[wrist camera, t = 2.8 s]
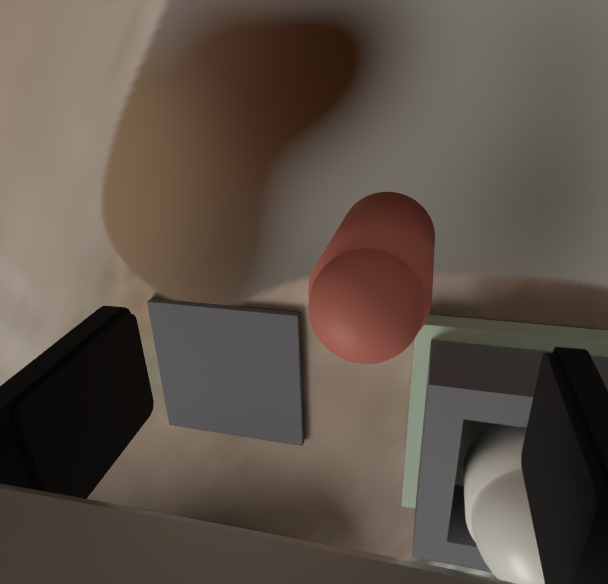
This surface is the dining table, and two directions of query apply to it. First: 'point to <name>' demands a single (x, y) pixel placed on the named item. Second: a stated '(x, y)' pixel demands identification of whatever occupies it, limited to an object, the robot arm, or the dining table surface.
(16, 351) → the dining table surface
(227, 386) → the coaster
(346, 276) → the pawn
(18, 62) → the dining table surface
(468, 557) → the popper base
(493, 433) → the popper dome
